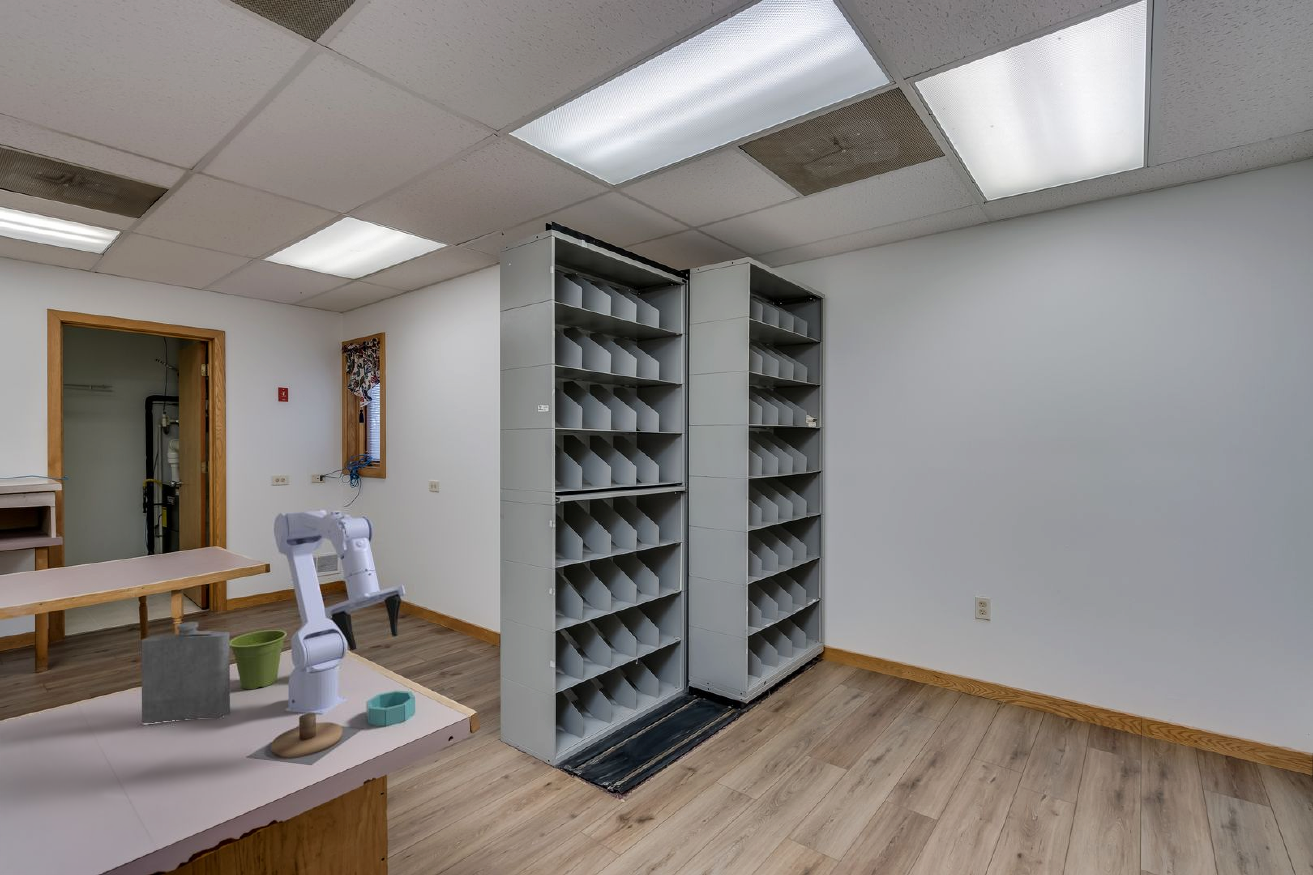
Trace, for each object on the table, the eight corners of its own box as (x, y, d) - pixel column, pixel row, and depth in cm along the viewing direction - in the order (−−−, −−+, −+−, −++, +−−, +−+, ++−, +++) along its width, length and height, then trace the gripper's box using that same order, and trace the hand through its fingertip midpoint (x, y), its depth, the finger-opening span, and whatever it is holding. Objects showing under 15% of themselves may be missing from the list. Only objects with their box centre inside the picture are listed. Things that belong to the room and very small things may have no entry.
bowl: (357, 726, 126) (357, 707, 126) (385, 707, 135) (385, 689, 135) (396, 730, 124) (396, 710, 124) (422, 710, 133) (422, 692, 133)
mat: (246, 758, 113) (246, 756, 113) (304, 724, 127) (304, 722, 127) (311, 766, 110) (311, 764, 110) (363, 730, 124) (363, 728, 124)
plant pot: (241, 677, 152) (240, 631, 152) (294, 672, 155) (293, 628, 155) (219, 696, 141) (219, 647, 141) (277, 691, 143) (276, 643, 143)
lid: (255, 754, 114) (255, 727, 114) (304, 724, 125) (304, 700, 125) (311, 760, 111) (310, 733, 111) (356, 729, 123) (355, 705, 123)
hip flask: (138, 726, 126) (137, 629, 126) (149, 717, 130) (149, 623, 130) (226, 717, 130) (225, 623, 130) (234, 709, 134) (233, 618, 134)
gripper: (315, 584, 117) (328, 655, 113) (394, 561, 121) (410, 628, 118) (325, 588, 123) (338, 656, 120) (400, 566, 128) (415, 630, 124)
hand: (374, 642), depth 119 cm, fingers open, 7 cm apart
